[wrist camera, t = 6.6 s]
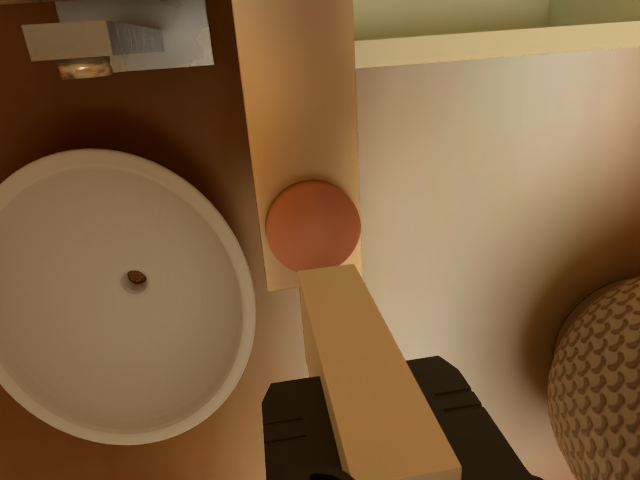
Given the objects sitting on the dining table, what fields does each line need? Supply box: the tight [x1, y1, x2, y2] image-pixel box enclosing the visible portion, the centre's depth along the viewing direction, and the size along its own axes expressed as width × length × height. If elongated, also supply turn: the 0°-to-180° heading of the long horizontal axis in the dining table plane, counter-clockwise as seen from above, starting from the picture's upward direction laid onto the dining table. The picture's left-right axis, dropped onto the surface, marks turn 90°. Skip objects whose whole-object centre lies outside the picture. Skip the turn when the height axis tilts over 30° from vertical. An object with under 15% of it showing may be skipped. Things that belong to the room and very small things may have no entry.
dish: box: [0, 148, 256, 445], centre depth 27 cm, size 18×14×5 cm
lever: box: [0, 0, 362, 292], centre depth 15 cm, size 22×18×6 cm
